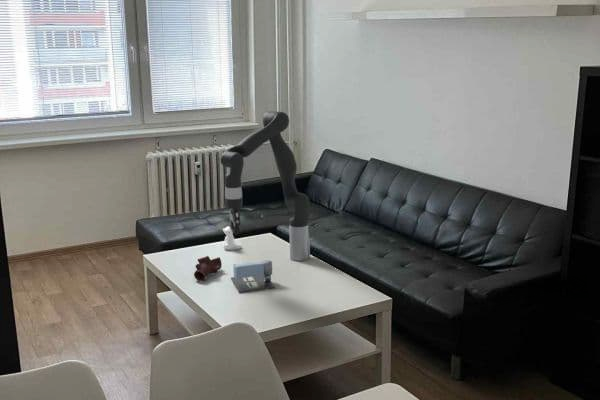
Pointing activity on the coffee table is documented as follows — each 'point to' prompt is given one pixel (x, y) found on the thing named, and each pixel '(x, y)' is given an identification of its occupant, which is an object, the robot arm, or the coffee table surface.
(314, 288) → the coffee table surface
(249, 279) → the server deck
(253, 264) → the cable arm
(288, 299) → the coffee table surface
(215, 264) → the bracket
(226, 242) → the sitting furry creature
